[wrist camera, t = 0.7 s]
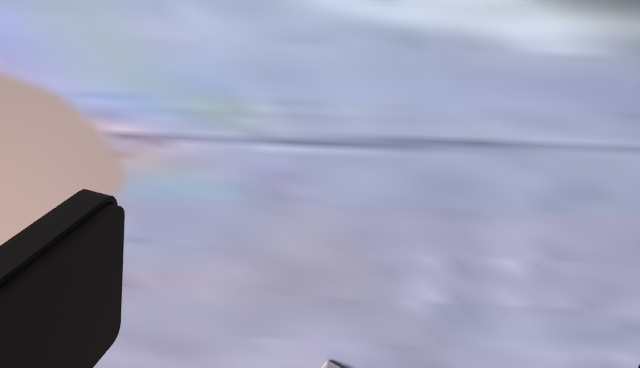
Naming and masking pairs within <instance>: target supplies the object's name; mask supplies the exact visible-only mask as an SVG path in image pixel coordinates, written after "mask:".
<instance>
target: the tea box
mask: <svg viewBox="0 0 640 368" xmlns="http://www.w3.org/2000/svg"><path fill="white" fill-rule="evenodd" d="M321 368H341V367H339V366H338V365H336V364H334V363H332V362H330V361H328V360H327V361H326V362H325V363H324V364H323V366H322V367H321Z"/></svg>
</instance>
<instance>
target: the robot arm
mask: <svg viewBox="0 0 640 368" xmlns="http://www.w3.org/2000/svg"><path fill="white" fill-rule="evenodd" d="M124 218H125V214H124V209H123V208H122V207H121V206H118V205H117V201H116V199H115V198H114V197H113V196H109V195H106V194H102V193H97V192H94V191H90V190H86V189H83V190H81V191H79V192H77V193H76V194H74V195H73V196H71V197H70V198H69V199H67V200H66V201H64V202H63V203H61V204H60V205H58V206H57V207H56V208H54V209H53V210H51V211H50V212H48V213H47V214H45V215H44V216H43V217H41V218H40V219H38V220H37V221H35V222H34V223H33V224H31V225H30V226H28V227H27V228H25V229H24V230H22V231H21V232H20V233H18V234H17V235H15V236H14V237H12V238H11V239H9V240H8V241H7V242H5V243H4V244H2V245H1V246H0V368H93V367H94V366H95V365H96V363H97V362H98V361H99V360H100V359H101V357H102V356H103V355H104V354H105V353H106V351H107V350H108V349H109V348H110V347H111V345H112V344H113V343H114V341H115V339H116V338H117V335H118V333H119V329H120V324H121V300H122V273H123V246H124ZM638 368H640V365H639V367H638Z"/></svg>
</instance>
